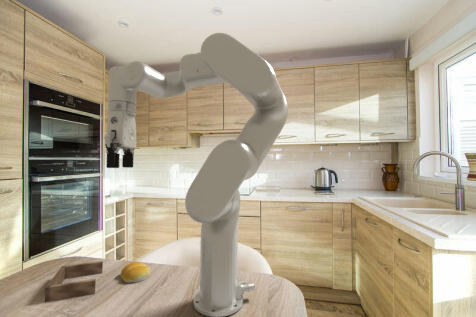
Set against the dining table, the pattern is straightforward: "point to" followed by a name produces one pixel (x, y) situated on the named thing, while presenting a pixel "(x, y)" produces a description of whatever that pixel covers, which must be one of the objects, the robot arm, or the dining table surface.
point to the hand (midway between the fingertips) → (120, 167)
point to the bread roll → (135, 272)
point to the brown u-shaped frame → (74, 288)
